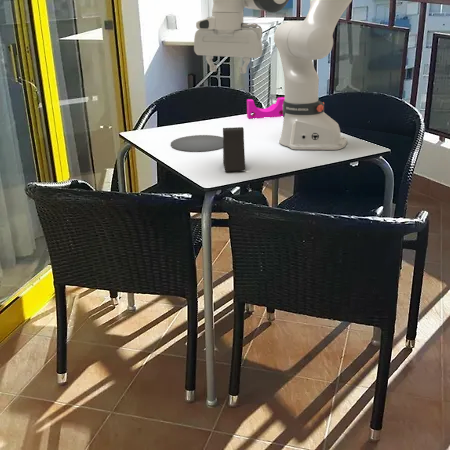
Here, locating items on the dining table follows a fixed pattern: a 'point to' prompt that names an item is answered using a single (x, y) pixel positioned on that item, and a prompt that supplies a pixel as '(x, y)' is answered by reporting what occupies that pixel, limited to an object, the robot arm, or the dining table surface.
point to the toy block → (271, 111)
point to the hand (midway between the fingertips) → (228, 72)
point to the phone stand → (233, 149)
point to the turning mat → (198, 143)
